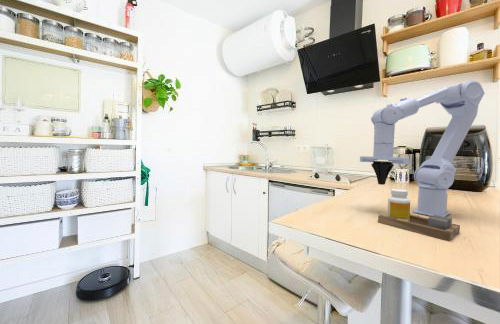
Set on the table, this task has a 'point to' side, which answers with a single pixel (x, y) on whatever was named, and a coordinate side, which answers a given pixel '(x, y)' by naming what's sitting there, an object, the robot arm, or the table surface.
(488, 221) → the table surface
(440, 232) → the beam
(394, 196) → the supplement bottle
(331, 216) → the table surface
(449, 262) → the table surface
